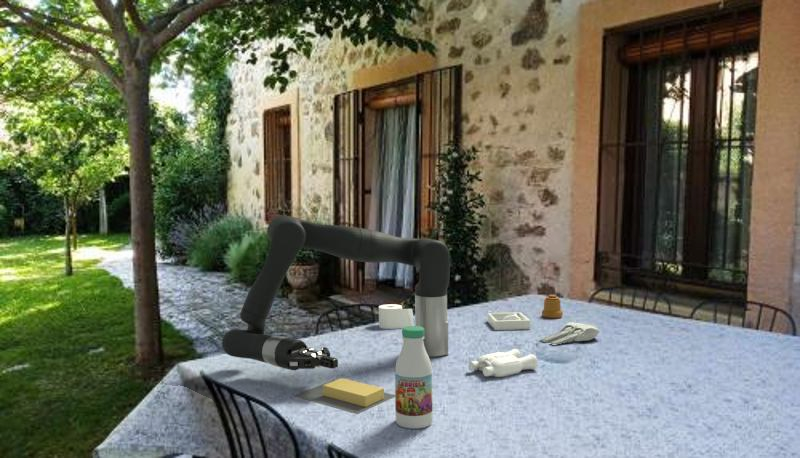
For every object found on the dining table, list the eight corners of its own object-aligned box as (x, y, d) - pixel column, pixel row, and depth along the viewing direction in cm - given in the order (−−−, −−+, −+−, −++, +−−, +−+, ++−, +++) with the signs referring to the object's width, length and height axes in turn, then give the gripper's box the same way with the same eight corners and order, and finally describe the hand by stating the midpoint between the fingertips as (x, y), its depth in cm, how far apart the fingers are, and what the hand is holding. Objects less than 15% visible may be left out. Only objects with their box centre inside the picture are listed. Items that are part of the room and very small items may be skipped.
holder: (520, 320, 222) (520, 312, 221) (530, 329, 209) (530, 320, 208) (487, 321, 221) (487, 313, 221) (494, 330, 208) (494, 321, 208)
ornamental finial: (559, 314, 231) (564, 318, 224) (539, 314, 231) (544, 319, 224) (560, 293, 231) (565, 296, 223) (539, 293, 231) (544, 297, 223)
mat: (292, 397, 145) (292, 395, 145) (333, 381, 156) (333, 379, 156) (357, 415, 133) (357, 413, 133) (397, 397, 144) (396, 395, 144)
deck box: (322, 385, 144) (365, 396, 137) (341, 378, 150) (383, 388, 142) (322, 396, 145) (365, 407, 137) (341, 388, 150) (384, 399, 142)
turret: (536, 347, 195) (534, 333, 194) (583, 330, 203) (582, 316, 202) (557, 355, 186) (556, 340, 185) (606, 337, 194) (605, 322, 194)
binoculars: (538, 371, 163) (538, 354, 163) (491, 382, 155) (491, 364, 155) (511, 362, 172) (511, 345, 172) (465, 372, 164) (465, 354, 164)
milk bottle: (394, 416, 133) (393, 324, 131) (430, 414, 133) (429, 323, 132) (397, 430, 125) (395, 333, 123) (435, 429, 126) (434, 331, 124)
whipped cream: (516, 332, 209) (517, 318, 208) (497, 328, 213) (498, 314, 212) (524, 325, 216) (525, 312, 215) (505, 321, 219) (506, 308, 219)
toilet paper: (413, 327, 213) (413, 307, 213) (381, 329, 211) (381, 309, 210) (408, 322, 221) (407, 303, 221) (376, 324, 219) (376, 304, 218)
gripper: (304, 361, 161) (354, 372, 151) (264, 373, 151) (316, 386, 140) (303, 332, 161) (354, 342, 151) (264, 343, 150) (315, 354, 140)
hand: (335, 363), depth 146 cm, fingers closed
